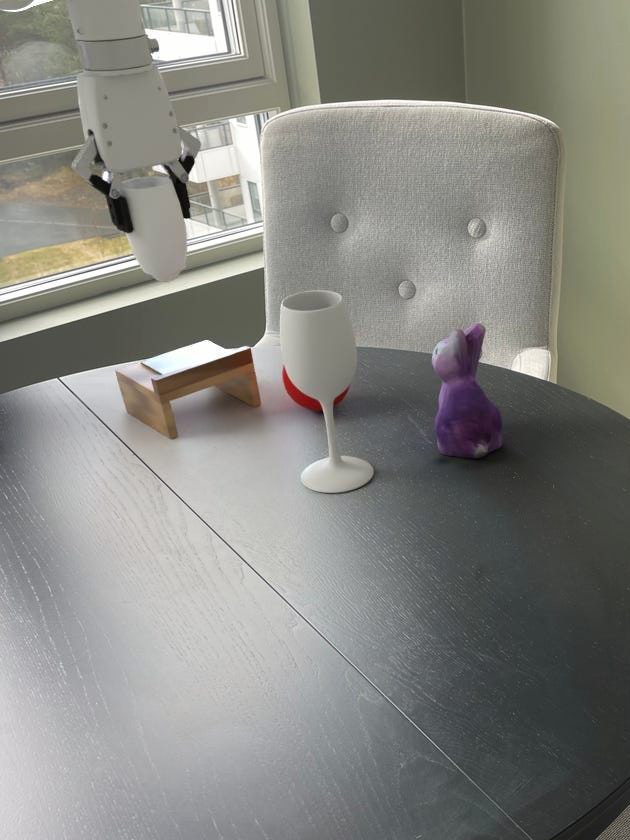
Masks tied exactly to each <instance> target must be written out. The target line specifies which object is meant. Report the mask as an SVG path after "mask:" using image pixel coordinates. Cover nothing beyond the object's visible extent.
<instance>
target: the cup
mask: <svg viewBox="0 0 630 840" xmlns="http://www.w3.org/2000/svg"><path fill="white" fill-rule="evenodd" d="M120 193H121V196H122V197H124V198H125V199H126V201H127V205H128V209H129V213H130V217H131V221H132V226H133V232H132V233H126V232H124V233H125V237H126V239H127V241H128V243H129V246H130V248H131V251H132V254H133V257H134V258H135V259H136V262H137V263H138V265H139V266H140V269H141V270H142V272H143V273H145V274H147V275H150V276H151V277H152V278H153V279H154V280H156V281H158V282H162V283H170V282H172V281H174V280H176V279H178V278H179V276H180V274H181V273H182V271H183V270H184V269H185V268H186V267H187V256H188V239H187V238H188V237H187V227H186V222H185V218H183V214H182V210H181V206H180V202H179V199H178V197H177V194H176V191H175V188H174V186H173V183H172V180H171V179H170V178H169V176H168V177H167V176H162V175H161V176H160V175H159V176H158V175H157V176H156V175H153V176H152V175H151V176H141V177H134V178H130V179H127V180H124V181H122V186H121V191H120Z"/></svg>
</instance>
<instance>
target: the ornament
mask: <svg viewBox="0 0 630 840" xmlns="http://www.w3.org/2000/svg"><path fill="white" fill-rule="evenodd" d="M281 376H282V377H281V379H282V383H283V386H284V389H285V391H286V393H287V395H288V396H289V397H290V398H291V399H292V401H293V402H294V403H296V404H297V405H298V406H300V407H302V408H304V409H307V410H310V411H315V412H317V411H320V412H321V411H322V412H323V408H322V406H321V403H320V402H319V401H318V400H317V399H314V398H312V397H309V396H308V395H306V394H304V393H303V392H301V391H300V390H299V389H298V388H297V387H296V386H295V385H294V384H293V383H292V382H291V380H290V378H289V377H288V375H287V372H286V369H285V366H284V363H283V364H282V372H281ZM350 387H351V384H350V385H349V386H348V387H347V389H346V390H345V391H344V392H342V393H341V394H340V395H338V396H337V397H336V398H335V399H334V402H333V408H335V407H336V406H337V405H338V404H339V403H341V402H342V401H343V400H344V398H345V397H346V395H347V394H348V392H349V389H350Z"/></svg>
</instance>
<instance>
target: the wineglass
mask: <svg viewBox="0 0 630 840" xmlns="http://www.w3.org/2000/svg"><path fill="white" fill-rule="evenodd" d="M279 311H280V312H279V316H280V317H279V339H280V340H279V343H280V352H281V356H282V362H283V364H284V366H285V369H286V372H287V375H288V377H289V378H290V380H291V382H292V383H293V384H294V385H295V386H296V387H297V388H298V389H299V390H300V391H301V392H303V393H304V394H306V395H308V396H309V397H312V398H314V399H317V400H318V401H319V402H320V403H321V406H322V408H323V410H322V412H323V416H324V421H325V426H326V434H327V443H328V457H325V458H322V459H319V460H317V461H314V462H313V463H311V464H309V465H308V466H307V467H306V468H305V469H304V470H303V471H302V473H301V475H300V481H301V483H302V484H303V486H305V487H306V488H307V489H309V490H311V491H313V492H318V493H323V494H337V493H338V494H339V493H345V492H350V491H352V490H356V489H358V488H361V487H363V486H364V485H366V484H367V483H368V482H370V481H371V479H373V476H374V472H375V471H374V467H373V465H372V464H371V463H370V462H369V461H367V460H364V459H362V458H360V457H356V456H350V455H341V452H340V448H339V444H338V438H337V434H336V433H337V432H336V428H335V420H334V419H335V418H334V407H333V402H334V399H335V398H336V397H337V396H338V395H340V394H341V393H342V392H344V391H345V390H346V389H347V387H348V386H349V385H350V386H351V384H352V382H353V380H354V378H355V375H356V373H357V369H358V350H357V348H358V347H357V342H356V335H355V331H354V327H353V323H352V319H351V317H350V316H351V315H350V313H349V311H348V307H347V305H346V302H345V300H344V297H343V296H342V295H341V294H340V293H338V292H335V291H332V290H325V289H315V290H314V289H312V290H306V291H299V292H296V293H293V294H290V295H288V296H286V297H285V298H284V299H283V300H282V301H281V303H280V310H279Z"/></svg>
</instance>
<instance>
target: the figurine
mask: <svg viewBox="0 0 630 840" xmlns="http://www.w3.org/2000/svg"><path fill="white" fill-rule="evenodd" d="M486 332H487V331H486V327H485V325H483V324H482V323H480V322H475V323H473V324H471V325H470V326H468V327H467V328H466V329H465V330H463V329H460V328H455V329H453V330H452V331H451V332H450V334H449V336H448V337H447V338H444V339H442V340H441V341H439V342H438V343H437V344H436V346H435V347H434V349H433V351H432V357H431V364H432V366H433V369H434V371H435V373H436V374H437V376H439V378H440V379H441V381H442V383H441V388H440V391H439V396H438V412H437V413H436V416H435V420H434V432H435V436H436V440H437V441H436V442H437V448H438V451H439V453H440V454H442V455H444V456H447V457H451V456H452V457H457V458H462V459H479V458H483V457H485V456H486V455H487V454H489V453H492V452H494V451H497V450H498V449H501V447H502V445H503V438H502V432H503V431H502V429H503V419H502V414H501V411H500V409H499V407H497V405H496V404H495V403H493V402H492V401H491V400H490V399H489V398H488V396H487V395H486V394H485V391H484V390H483V388H482V387H481V386H480V385H479V383H478V382H477V380H476V376H477V371H478V366H479V362H480V357H481V352H482V349H483V344H484V340H485V335H486Z"/></svg>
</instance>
